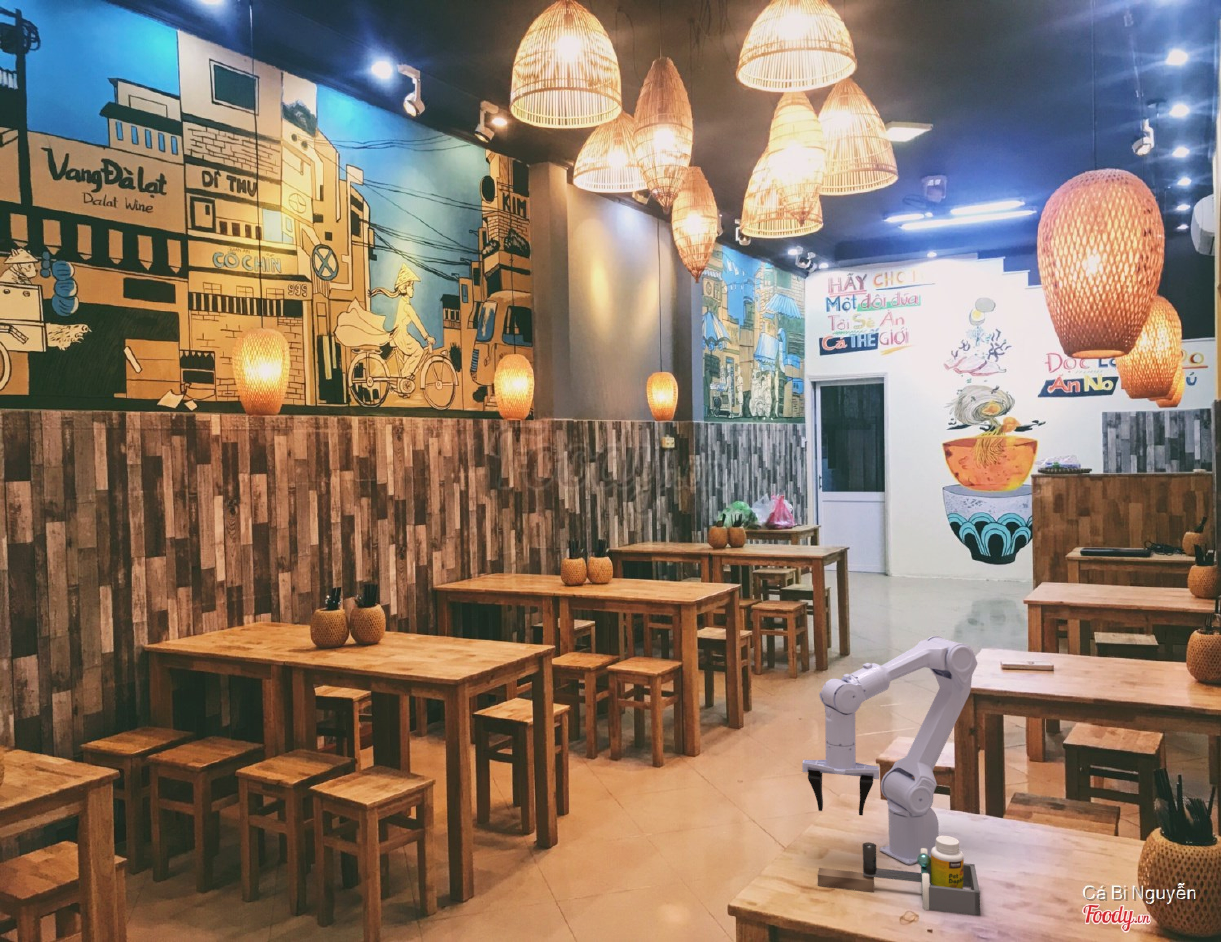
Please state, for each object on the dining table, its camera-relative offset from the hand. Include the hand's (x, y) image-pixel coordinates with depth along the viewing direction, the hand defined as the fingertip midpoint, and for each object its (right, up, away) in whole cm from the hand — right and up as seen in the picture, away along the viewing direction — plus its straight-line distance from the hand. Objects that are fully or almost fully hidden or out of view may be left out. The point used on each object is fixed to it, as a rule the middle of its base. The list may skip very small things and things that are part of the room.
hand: (840, 811), depth 178 cm
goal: (+16, -10, -14) cm, 24 cm away
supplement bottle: (+16, -10, -14) cm, 23 cm away
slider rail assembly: (+7, -10, -12) cm, 17 cm away
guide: (-1, -10, -9) cm, 14 cm away
